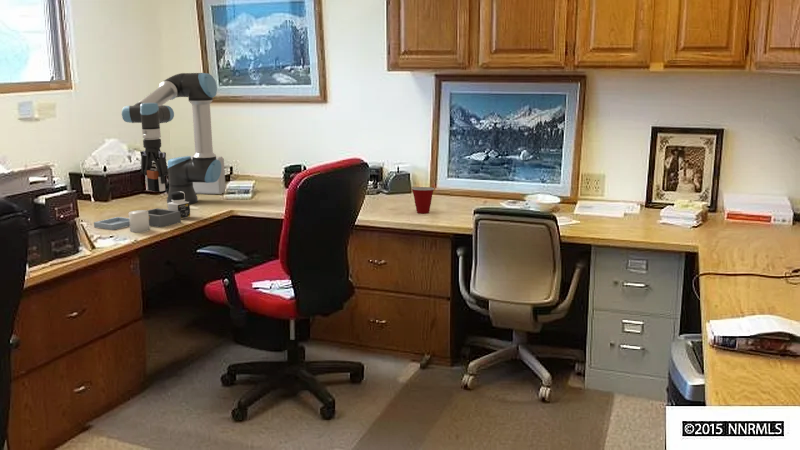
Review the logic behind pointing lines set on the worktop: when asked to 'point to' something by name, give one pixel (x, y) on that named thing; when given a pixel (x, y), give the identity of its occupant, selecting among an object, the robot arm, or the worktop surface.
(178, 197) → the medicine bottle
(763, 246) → the worktop surface
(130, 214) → the white rounded cylinder
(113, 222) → the tray
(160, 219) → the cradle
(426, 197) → the plastic cup
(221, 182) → the bevelled white case
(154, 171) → the battery
